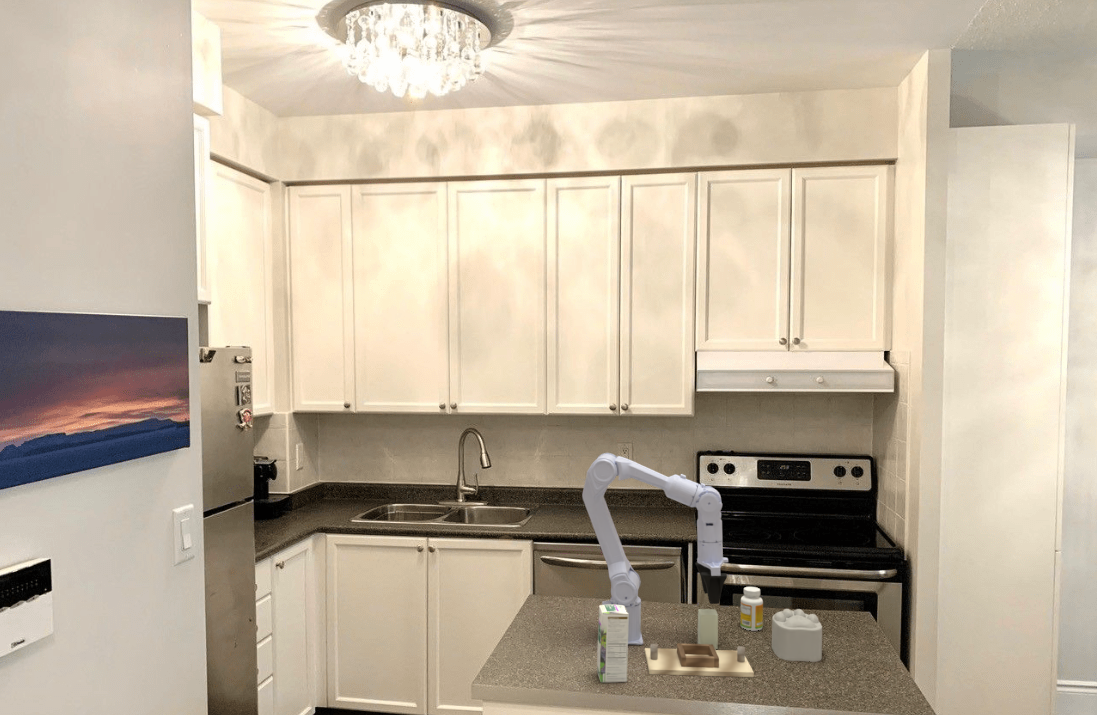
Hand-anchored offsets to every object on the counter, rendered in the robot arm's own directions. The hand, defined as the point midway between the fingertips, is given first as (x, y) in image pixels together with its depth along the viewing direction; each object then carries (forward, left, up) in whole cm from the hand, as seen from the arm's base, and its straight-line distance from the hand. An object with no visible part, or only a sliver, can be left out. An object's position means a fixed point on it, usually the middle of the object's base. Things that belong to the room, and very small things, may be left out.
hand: (711, 598), depth 183 cm
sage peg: (-1, 0, -11) cm, 11 cm away
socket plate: (-5, -11, -11) cm, 16 cm away
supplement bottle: (+12, +13, -11) cm, 21 cm away
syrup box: (-24, -19, -11) cm, 33 cm away
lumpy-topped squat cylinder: (+19, -1, -12) cm, 22 cm away
